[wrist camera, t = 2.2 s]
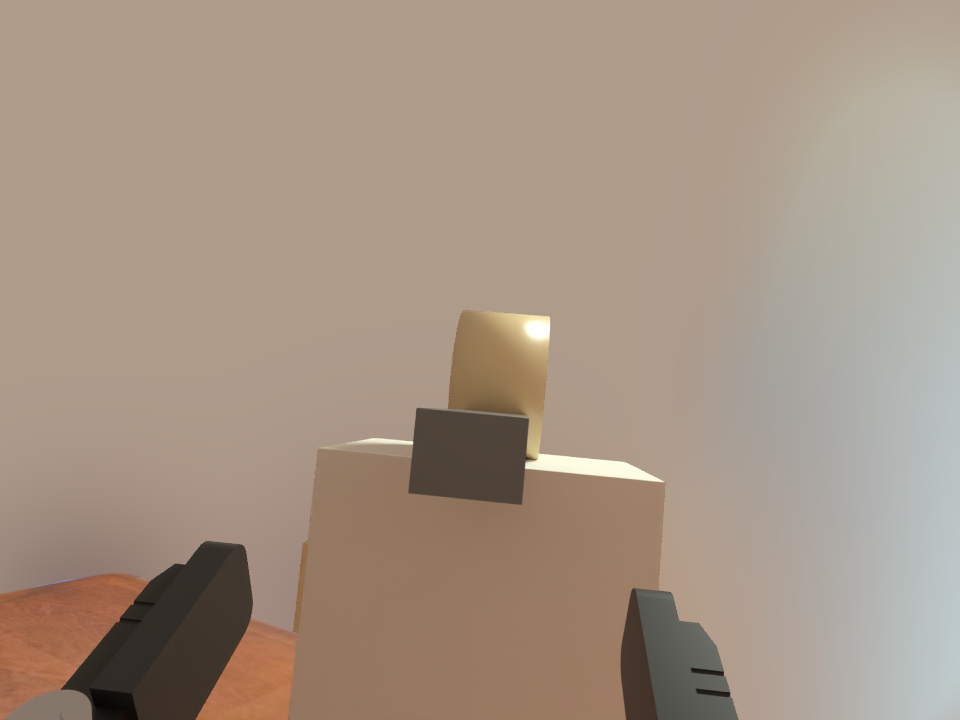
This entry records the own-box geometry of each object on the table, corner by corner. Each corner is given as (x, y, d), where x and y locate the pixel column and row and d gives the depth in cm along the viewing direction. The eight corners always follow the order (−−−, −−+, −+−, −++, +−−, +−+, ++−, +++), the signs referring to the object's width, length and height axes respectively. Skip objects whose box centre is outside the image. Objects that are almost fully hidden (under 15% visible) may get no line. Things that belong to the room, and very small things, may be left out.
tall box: (328, 853, 48) (372, 437, 50) (593, 893, 46) (625, 462, 49) (248, 1036, 34) (313, 447, 36) (623, 1102, 32) (665, 482, 35)
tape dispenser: (459, 447, 49) (471, 320, 50) (536, 454, 48) (546, 327, 49) (380, 490, 22) (408, 213, 23) (550, 507, 21) (573, 224, 22)
